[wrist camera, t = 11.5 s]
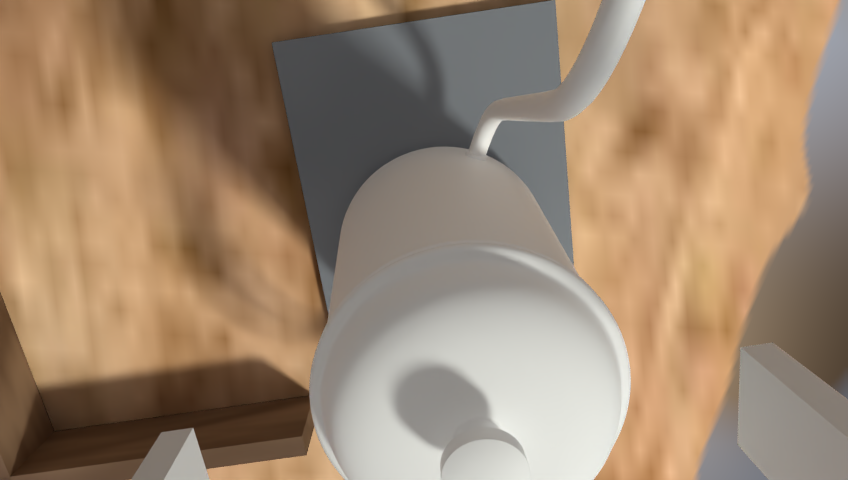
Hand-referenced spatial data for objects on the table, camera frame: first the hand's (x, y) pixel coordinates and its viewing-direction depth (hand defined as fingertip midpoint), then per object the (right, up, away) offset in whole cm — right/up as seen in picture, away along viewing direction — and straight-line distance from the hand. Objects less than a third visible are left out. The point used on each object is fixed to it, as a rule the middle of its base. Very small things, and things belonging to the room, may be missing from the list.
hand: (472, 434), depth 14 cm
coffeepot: (0, +5, +18) cm, 18 cm away
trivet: (0, +5, +18) cm, 19 cm away
